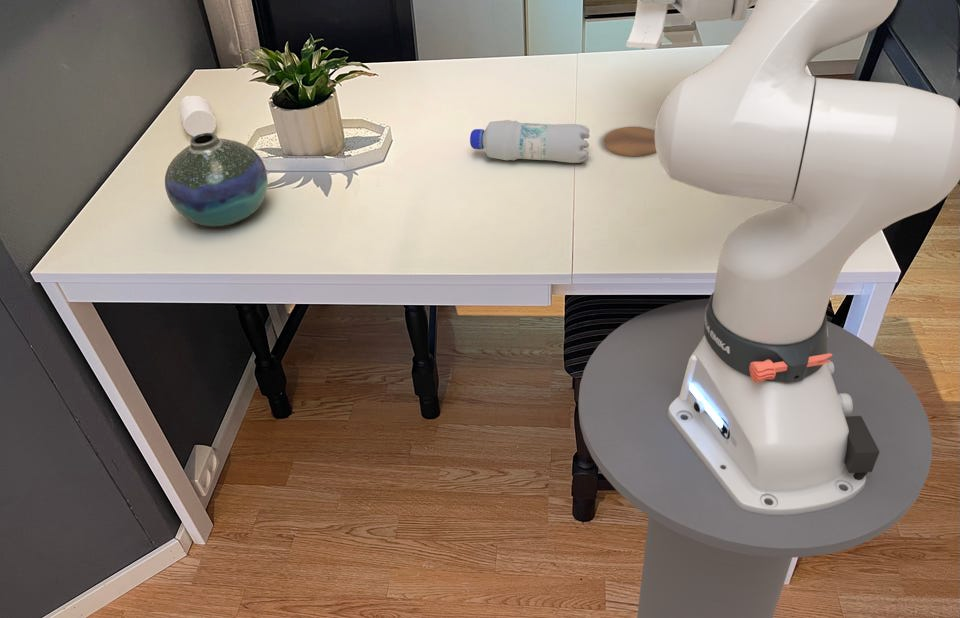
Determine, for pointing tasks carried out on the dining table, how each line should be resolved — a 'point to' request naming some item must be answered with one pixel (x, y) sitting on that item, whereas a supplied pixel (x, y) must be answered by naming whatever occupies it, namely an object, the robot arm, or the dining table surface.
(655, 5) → the headphone stand
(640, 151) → the coaster
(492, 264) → the dining table surface
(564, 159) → the bottle
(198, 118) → the roll
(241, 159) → the vase
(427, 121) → the dining table surface
